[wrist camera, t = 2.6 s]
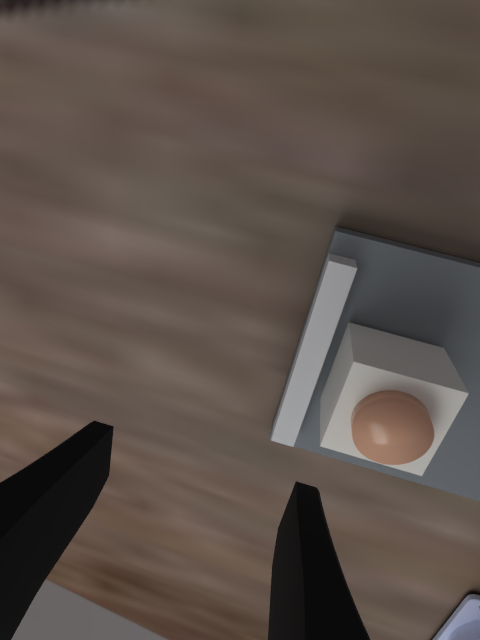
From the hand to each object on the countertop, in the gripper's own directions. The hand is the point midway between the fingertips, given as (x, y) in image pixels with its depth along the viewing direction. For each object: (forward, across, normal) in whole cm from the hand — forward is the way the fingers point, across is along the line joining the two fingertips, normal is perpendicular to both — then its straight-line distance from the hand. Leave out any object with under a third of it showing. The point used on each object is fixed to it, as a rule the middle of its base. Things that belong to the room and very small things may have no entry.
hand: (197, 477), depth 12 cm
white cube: (+9, -6, 0) cm, 11 cm away
